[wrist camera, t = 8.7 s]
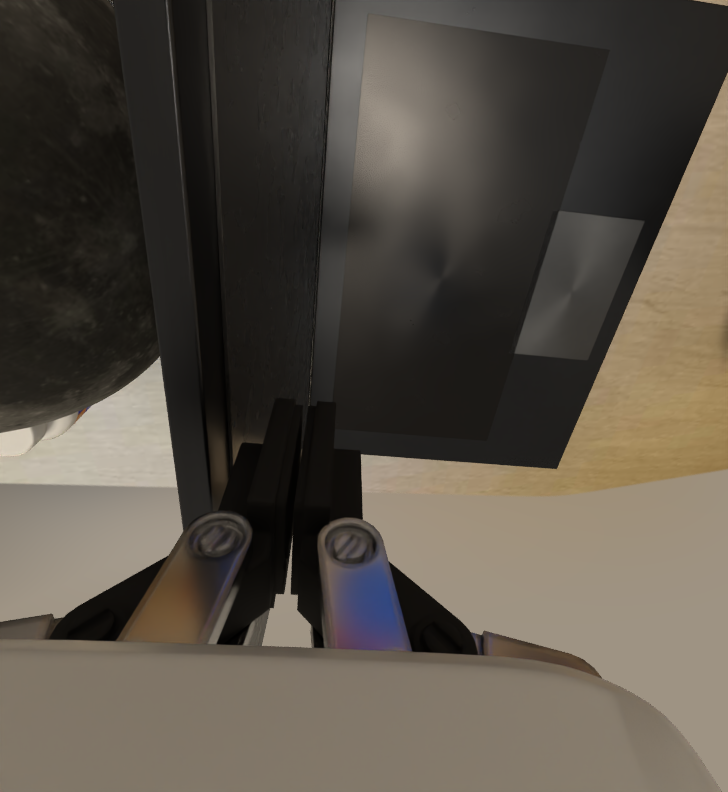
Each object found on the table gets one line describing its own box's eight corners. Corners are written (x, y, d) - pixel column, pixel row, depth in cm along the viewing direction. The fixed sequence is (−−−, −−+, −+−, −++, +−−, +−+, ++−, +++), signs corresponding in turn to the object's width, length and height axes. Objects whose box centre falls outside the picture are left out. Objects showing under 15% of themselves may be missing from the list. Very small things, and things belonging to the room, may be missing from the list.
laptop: (729, 17, 24) (756, 9, 22) (548, 455, 39) (557, 470, 38) (338, -46, 22) (337, -60, 21) (308, 437, 38) (306, 451, 36)
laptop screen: (85, -1225, 3) (-59, -1256, 3) (236, 769, 18) (214, 767, 18) (338, -59, 21) (318, -62, 21) (307, 450, 36) (296, 449, 36)
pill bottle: (116, 396, 35) (44, 479, 27) (42, 371, 34) (-58, 451, 26) (129, 337, 33) (52, 409, 24) (49, 308, 32) (-60, 374, 23)
